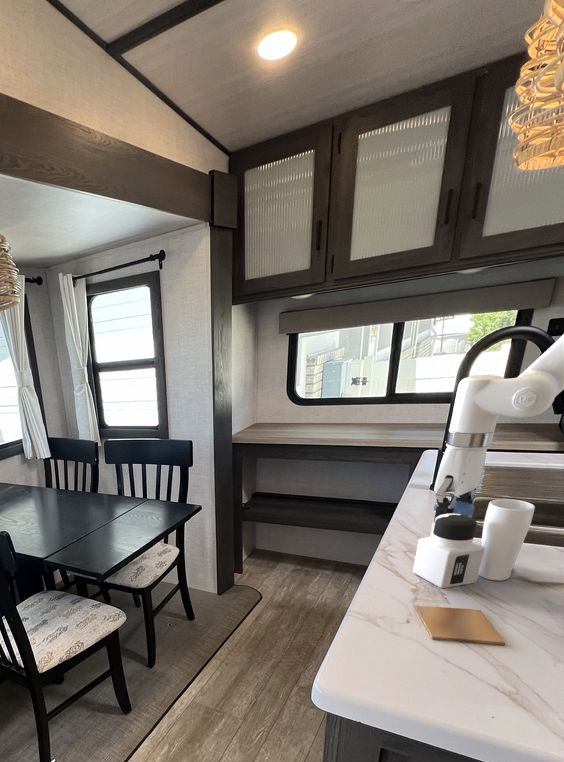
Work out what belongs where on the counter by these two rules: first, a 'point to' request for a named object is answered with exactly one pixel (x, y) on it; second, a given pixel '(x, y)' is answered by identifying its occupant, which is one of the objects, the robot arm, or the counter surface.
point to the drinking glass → (503, 536)
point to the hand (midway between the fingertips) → (451, 519)
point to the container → (449, 552)
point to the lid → (461, 508)
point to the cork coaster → (458, 625)
